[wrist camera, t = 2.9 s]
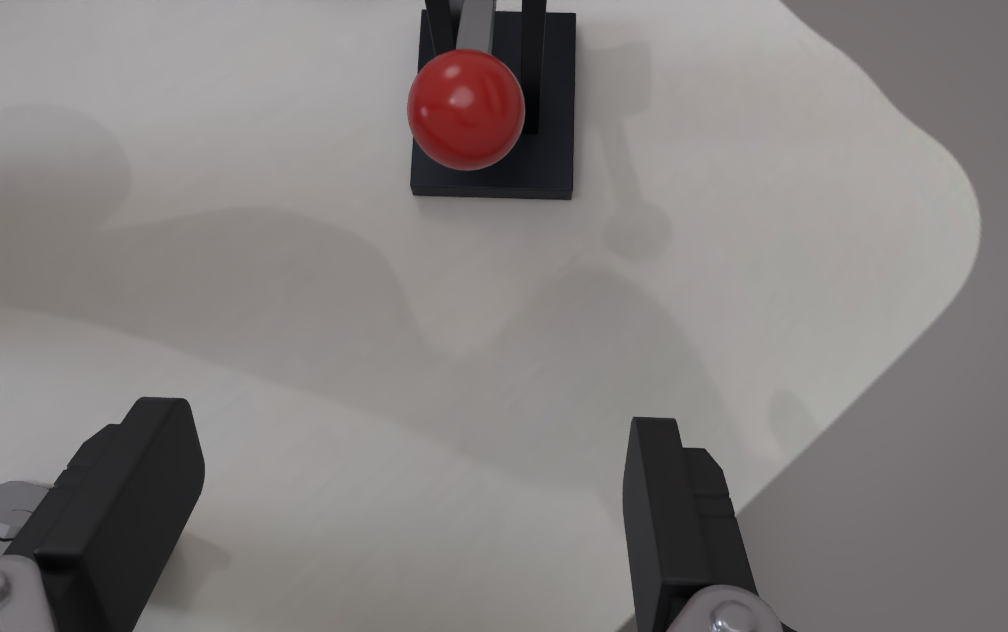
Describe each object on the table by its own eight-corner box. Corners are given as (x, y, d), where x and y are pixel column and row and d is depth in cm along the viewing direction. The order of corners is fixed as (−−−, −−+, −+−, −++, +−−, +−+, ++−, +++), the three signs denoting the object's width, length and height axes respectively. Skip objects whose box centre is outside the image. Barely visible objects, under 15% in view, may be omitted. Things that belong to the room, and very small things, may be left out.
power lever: (522, 196, 24) (526, 92, 21) (405, 192, 24) (394, 88, 21) (530, -24, 34) (533, -113, 32) (448, -26, 34) (444, -115, 32)
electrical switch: (182, 533, 41) (77, 567, 32) (147, 631, 40) (30, 695, 31) (20, 477, 41) (-129, 494, 32) (-17, 572, 41) (-178, 618, 32)
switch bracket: (571, 200, 44) (600, 46, 29) (413, 195, 45) (358, 40, 29) (574, 26, 47) (603, -202, 31) (424, 22, 47) (379, -206, 32)
